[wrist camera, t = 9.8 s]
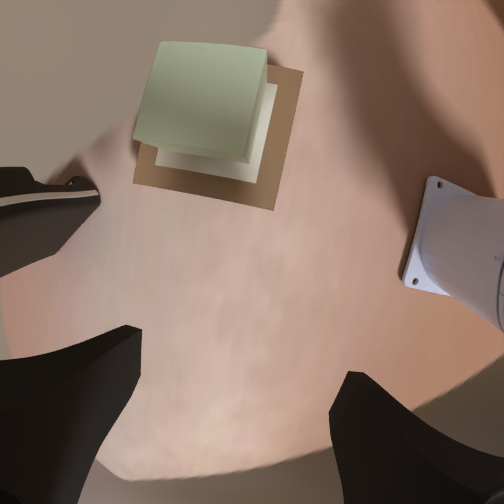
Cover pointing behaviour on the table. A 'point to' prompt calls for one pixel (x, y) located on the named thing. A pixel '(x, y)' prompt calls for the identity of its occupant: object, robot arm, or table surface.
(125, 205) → the table surface
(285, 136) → the base block
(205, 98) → the cube
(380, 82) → the table surface
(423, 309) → the table surface
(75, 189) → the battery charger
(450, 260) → the robot arm
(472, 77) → the table surface
